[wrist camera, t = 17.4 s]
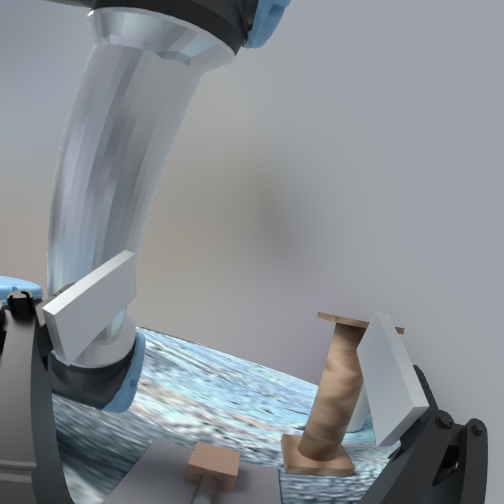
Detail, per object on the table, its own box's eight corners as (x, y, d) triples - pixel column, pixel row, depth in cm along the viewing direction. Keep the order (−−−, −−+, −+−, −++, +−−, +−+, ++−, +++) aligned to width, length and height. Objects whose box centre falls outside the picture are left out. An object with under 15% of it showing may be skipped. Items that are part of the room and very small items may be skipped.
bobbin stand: (285, 472, 35) (335, 315, 40) (280, 440, 48) (318, 312, 53) (351, 476, 35) (404, 328, 39) (335, 446, 47) (375, 323, 52)
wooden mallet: (217, 577, 10) (224, 565, 10) (147, 559, 10) (148, 545, 11) (234, 469, 34) (240, 452, 35) (193, 458, 34) (197, 441, 35)
